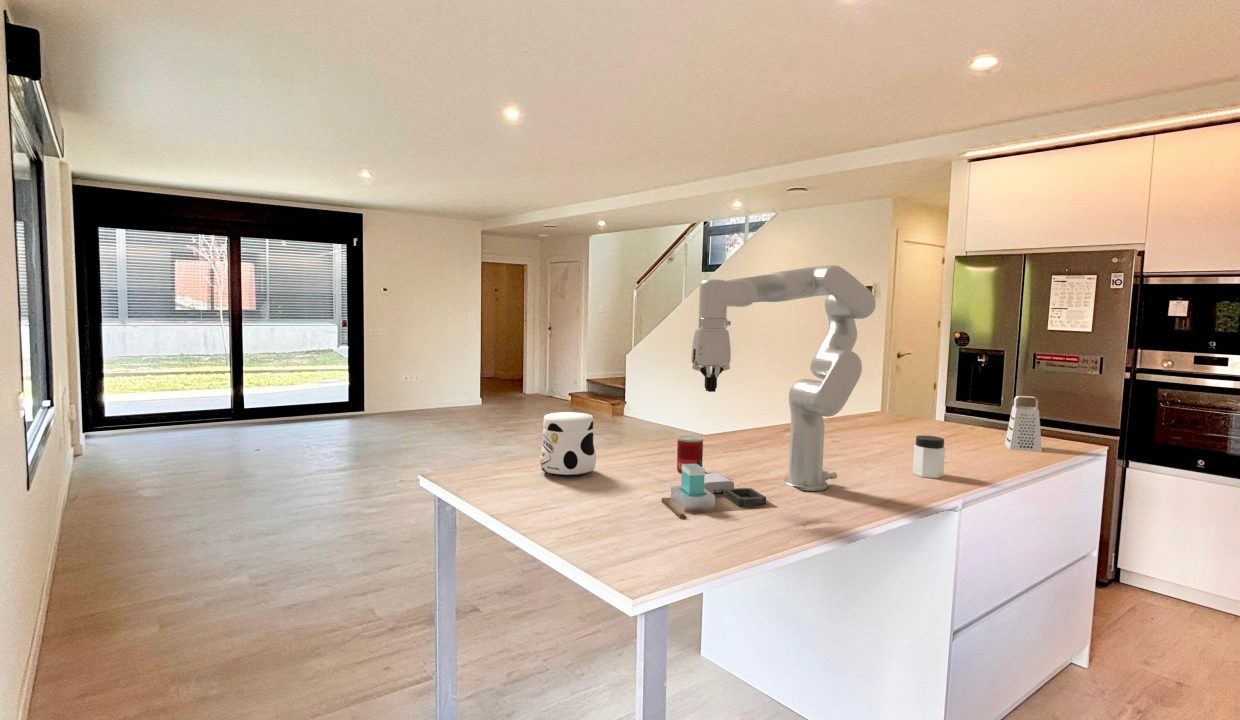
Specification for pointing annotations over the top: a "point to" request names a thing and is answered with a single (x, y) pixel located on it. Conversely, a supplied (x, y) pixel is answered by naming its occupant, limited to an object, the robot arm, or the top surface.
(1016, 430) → the grater
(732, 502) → the brown socket board
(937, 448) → the jar
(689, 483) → the plug
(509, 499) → the top surface
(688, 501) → the frame
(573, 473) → the milk container
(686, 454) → the canned food
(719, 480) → the charger
